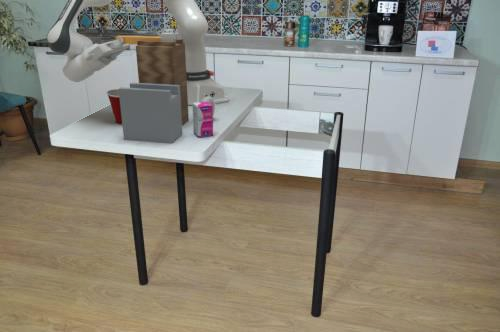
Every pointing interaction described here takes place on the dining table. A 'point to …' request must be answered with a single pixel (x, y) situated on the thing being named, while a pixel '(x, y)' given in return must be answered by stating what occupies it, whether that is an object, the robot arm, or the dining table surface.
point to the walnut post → (164, 67)
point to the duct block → (151, 112)
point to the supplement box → (202, 119)
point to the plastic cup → (115, 104)
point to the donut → (210, 100)
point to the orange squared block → (148, 38)
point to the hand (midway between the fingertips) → (125, 38)
